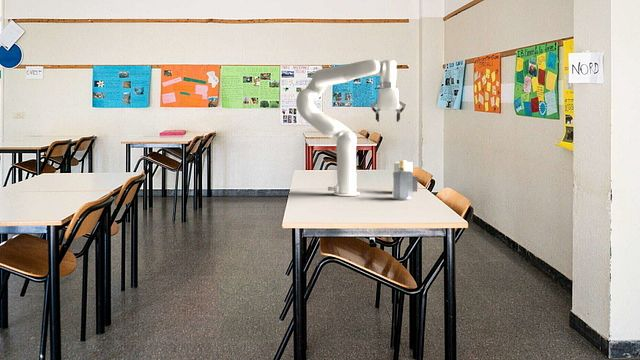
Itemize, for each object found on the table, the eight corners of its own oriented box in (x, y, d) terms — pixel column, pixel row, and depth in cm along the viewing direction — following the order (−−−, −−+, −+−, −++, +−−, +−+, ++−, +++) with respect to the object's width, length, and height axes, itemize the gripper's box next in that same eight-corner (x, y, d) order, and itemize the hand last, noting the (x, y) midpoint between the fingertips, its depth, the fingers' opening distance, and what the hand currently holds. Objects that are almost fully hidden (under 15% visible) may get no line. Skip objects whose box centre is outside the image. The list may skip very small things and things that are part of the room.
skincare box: (405, 194, 314) (405, 162, 312) (392, 193, 318) (393, 162, 316) (413, 192, 321) (413, 161, 319) (401, 191, 325) (401, 160, 323)
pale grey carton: (393, 200, 295) (394, 172, 293) (391, 197, 304) (391, 170, 303) (418, 200, 295) (418, 172, 293) (415, 197, 304) (415, 170, 303)
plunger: (396, 194, 296) (397, 161, 294) (395, 193, 302) (395, 160, 300) (409, 194, 296) (410, 161, 294) (407, 193, 302) (408, 160, 300)
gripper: (371, 86, 301) (370, 121, 303) (407, 85, 301) (406, 121, 303) (369, 86, 309) (369, 121, 311) (404, 86, 309) (404, 121, 311)
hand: (387, 121), depth 307 cm, fingers open, 9 cm apart
